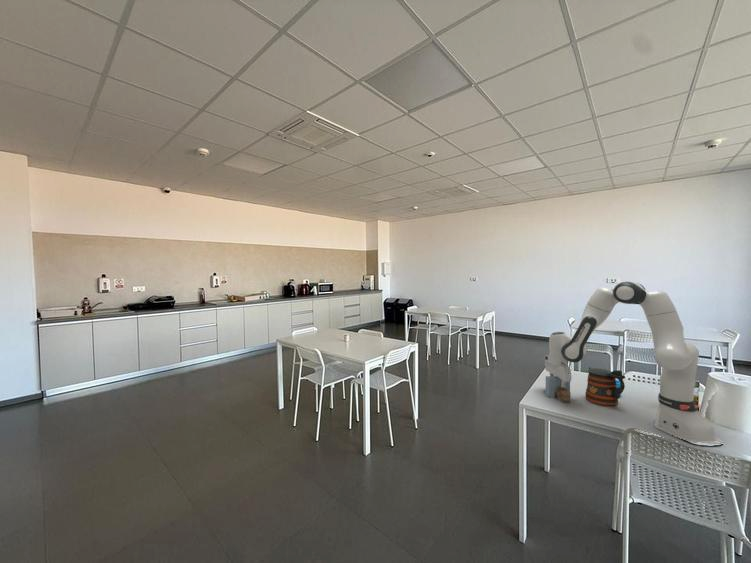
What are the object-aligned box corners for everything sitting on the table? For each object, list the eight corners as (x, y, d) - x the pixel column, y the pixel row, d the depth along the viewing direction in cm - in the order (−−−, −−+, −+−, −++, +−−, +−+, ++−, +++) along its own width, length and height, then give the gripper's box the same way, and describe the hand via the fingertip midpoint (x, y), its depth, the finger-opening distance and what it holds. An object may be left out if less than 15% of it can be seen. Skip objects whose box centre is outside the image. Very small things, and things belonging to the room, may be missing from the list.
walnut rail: (570, 402, 168) (570, 391, 167) (563, 402, 168) (564, 392, 167) (551, 389, 186) (551, 379, 185) (546, 389, 186) (546, 380, 185)
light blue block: (566, 394, 178) (566, 375, 178) (570, 397, 175) (570, 378, 174) (545, 394, 178) (545, 376, 178) (548, 397, 175) (548, 378, 174)
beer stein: (633, 406, 161) (634, 369, 161) (616, 412, 156) (616, 373, 155) (596, 393, 179) (596, 359, 178) (579, 397, 174) (579, 363, 173)
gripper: (574, 365, 165) (574, 390, 166) (553, 354, 186) (553, 377, 186) (563, 365, 165) (563, 391, 166) (542, 355, 186) (542, 377, 186)
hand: (557, 383), depth 176 cm, fingers open, 8 cm apart
